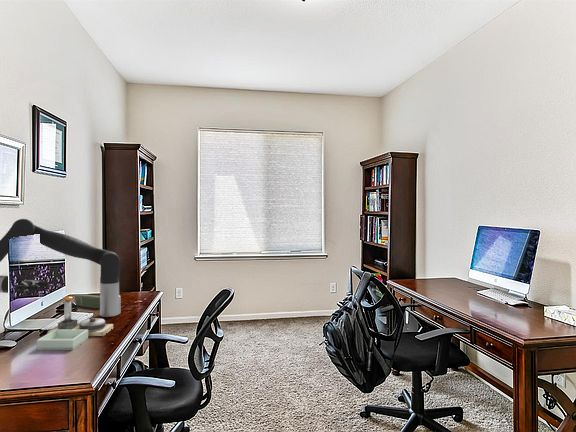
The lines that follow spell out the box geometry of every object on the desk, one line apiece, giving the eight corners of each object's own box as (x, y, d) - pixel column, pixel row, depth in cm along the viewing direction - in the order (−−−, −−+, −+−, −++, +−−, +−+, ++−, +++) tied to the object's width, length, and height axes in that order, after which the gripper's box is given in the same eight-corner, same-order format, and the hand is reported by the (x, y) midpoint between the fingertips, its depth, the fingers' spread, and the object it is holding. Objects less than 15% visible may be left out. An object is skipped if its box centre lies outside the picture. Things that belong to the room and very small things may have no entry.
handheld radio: (78, 304, 236) (113, 308, 228) (74, 306, 233) (109, 310, 225) (78, 293, 236) (113, 296, 228) (73, 294, 232) (108, 298, 224)
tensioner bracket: (47, 336, 178) (47, 322, 178) (61, 328, 190) (61, 315, 190) (102, 336, 180) (102, 322, 179) (113, 328, 192) (113, 315, 191)
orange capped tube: (69, 326, 187) (69, 295, 187) (74, 327, 185) (74, 297, 185) (61, 328, 184) (61, 297, 184) (65, 329, 182) (66, 298, 182)
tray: (55, 338, 176) (55, 329, 176) (88, 338, 176) (88, 329, 176) (36, 350, 162) (36, 340, 162) (72, 350, 162) (72, 340, 162)
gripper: (-5, 278, 175) (34, 280, 176) (15, 273, 189) (51, 275, 190) (-6, 295, 175) (33, 297, 176) (14, 289, 189) (50, 291, 190)
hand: (43, 286), depth 183 cm, fingers open, 8 cm apart
